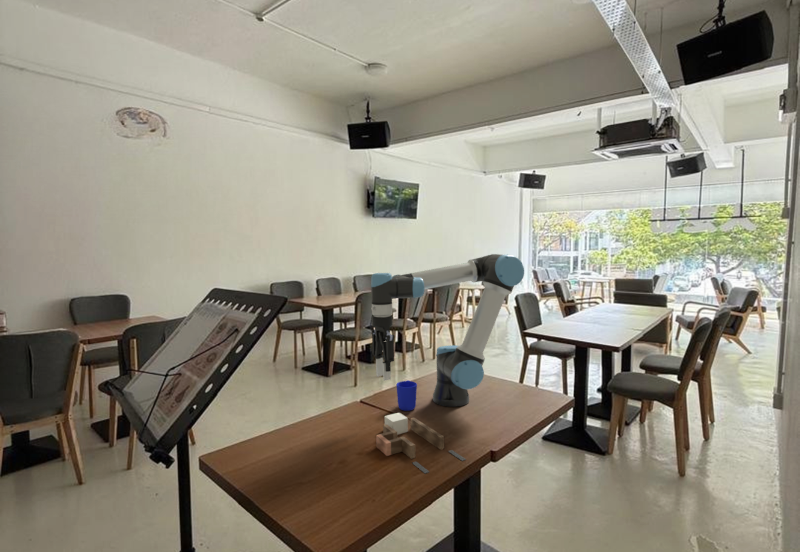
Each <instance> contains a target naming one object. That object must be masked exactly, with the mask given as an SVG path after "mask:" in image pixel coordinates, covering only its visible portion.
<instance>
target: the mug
mask: <svg viewBox="0 0 800 552" xmlns="http://www.w3.org/2000/svg"><path fill="white" fill-rule="evenodd" d="M395 386H396V393H397V395H396V396H397V406H398V408H399V410H401V411H404V412H405V411H409V412H410V411H413V410H414V409H415V408H416V405H417V403H416V402H417V389H418V387H417V386H418V384H417V382H415V381H412V380H407V379H406V380H402V381H398V382H397V383H396V385H395Z"/></svg>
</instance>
